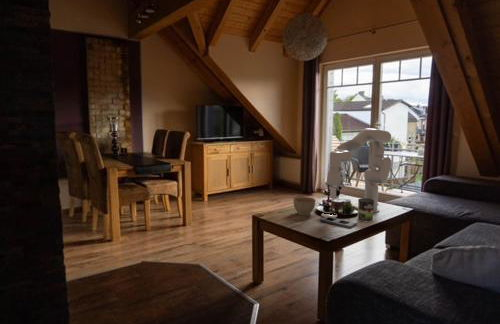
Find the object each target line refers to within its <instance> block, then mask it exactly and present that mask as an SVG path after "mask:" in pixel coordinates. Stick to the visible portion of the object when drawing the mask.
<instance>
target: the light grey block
mask: <svg viewBox="0 0 500 324" xmlns="http://www.w3.org/2000/svg"><path fill="white" fill-rule="evenodd" d="M339 198H340V195H339V196H337V186H331V187H330V193H329V199H332V200H338V199H339Z"/></svg>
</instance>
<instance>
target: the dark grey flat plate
mask: <svg viewBox="0 0 500 324" xmlns="http://www.w3.org/2000/svg"><path fill="white" fill-rule="evenodd" d="M320 222H322V223H325V224H329V225H334V226H338V227H342V228H346V229H352V228H354V227H356V226H357V224H358V223H357V222H354V221H349V220H346V219H341V218H337V217H336V218H333V217H329V216H327V217H325V218H324V217H322V218H320Z"/></svg>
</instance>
